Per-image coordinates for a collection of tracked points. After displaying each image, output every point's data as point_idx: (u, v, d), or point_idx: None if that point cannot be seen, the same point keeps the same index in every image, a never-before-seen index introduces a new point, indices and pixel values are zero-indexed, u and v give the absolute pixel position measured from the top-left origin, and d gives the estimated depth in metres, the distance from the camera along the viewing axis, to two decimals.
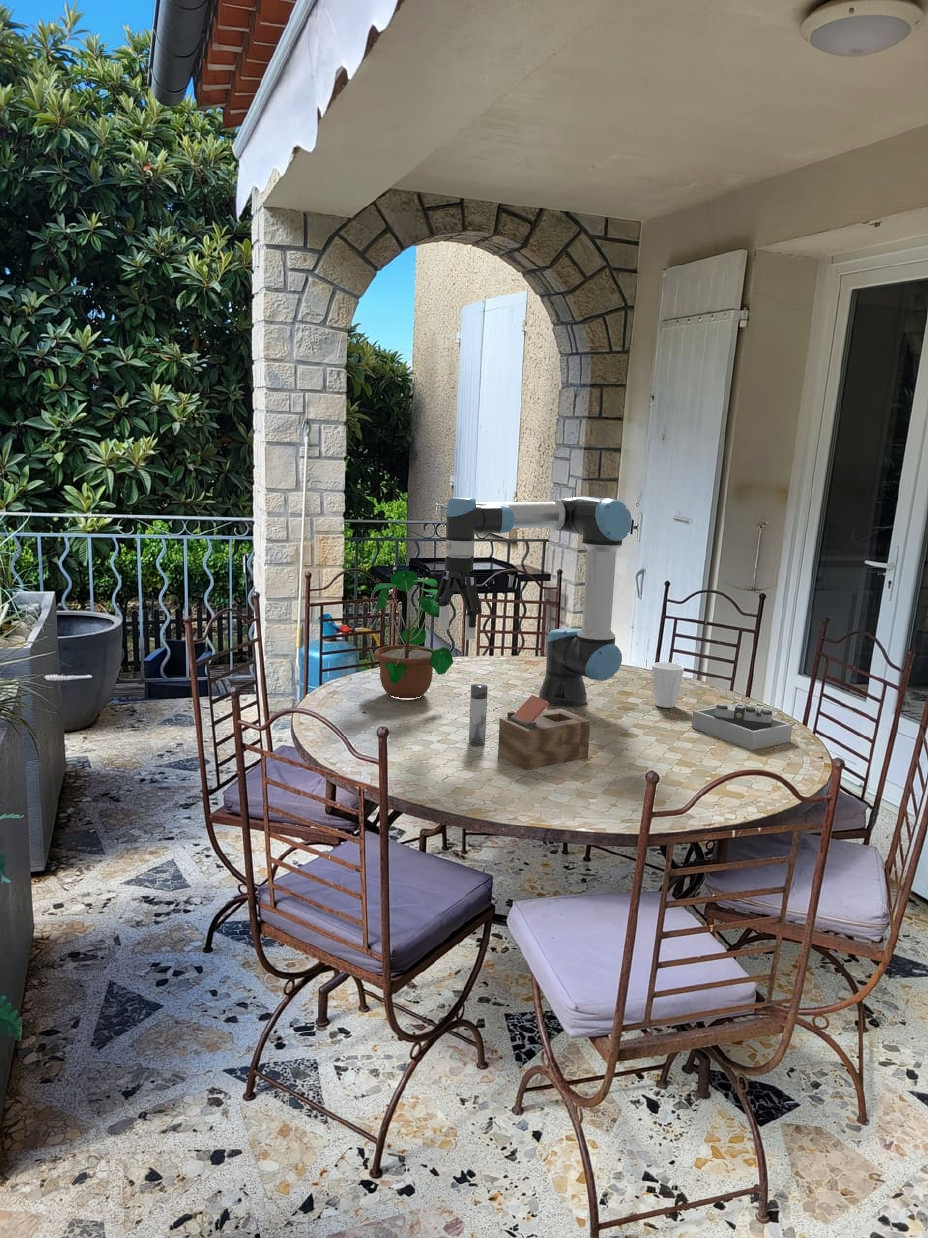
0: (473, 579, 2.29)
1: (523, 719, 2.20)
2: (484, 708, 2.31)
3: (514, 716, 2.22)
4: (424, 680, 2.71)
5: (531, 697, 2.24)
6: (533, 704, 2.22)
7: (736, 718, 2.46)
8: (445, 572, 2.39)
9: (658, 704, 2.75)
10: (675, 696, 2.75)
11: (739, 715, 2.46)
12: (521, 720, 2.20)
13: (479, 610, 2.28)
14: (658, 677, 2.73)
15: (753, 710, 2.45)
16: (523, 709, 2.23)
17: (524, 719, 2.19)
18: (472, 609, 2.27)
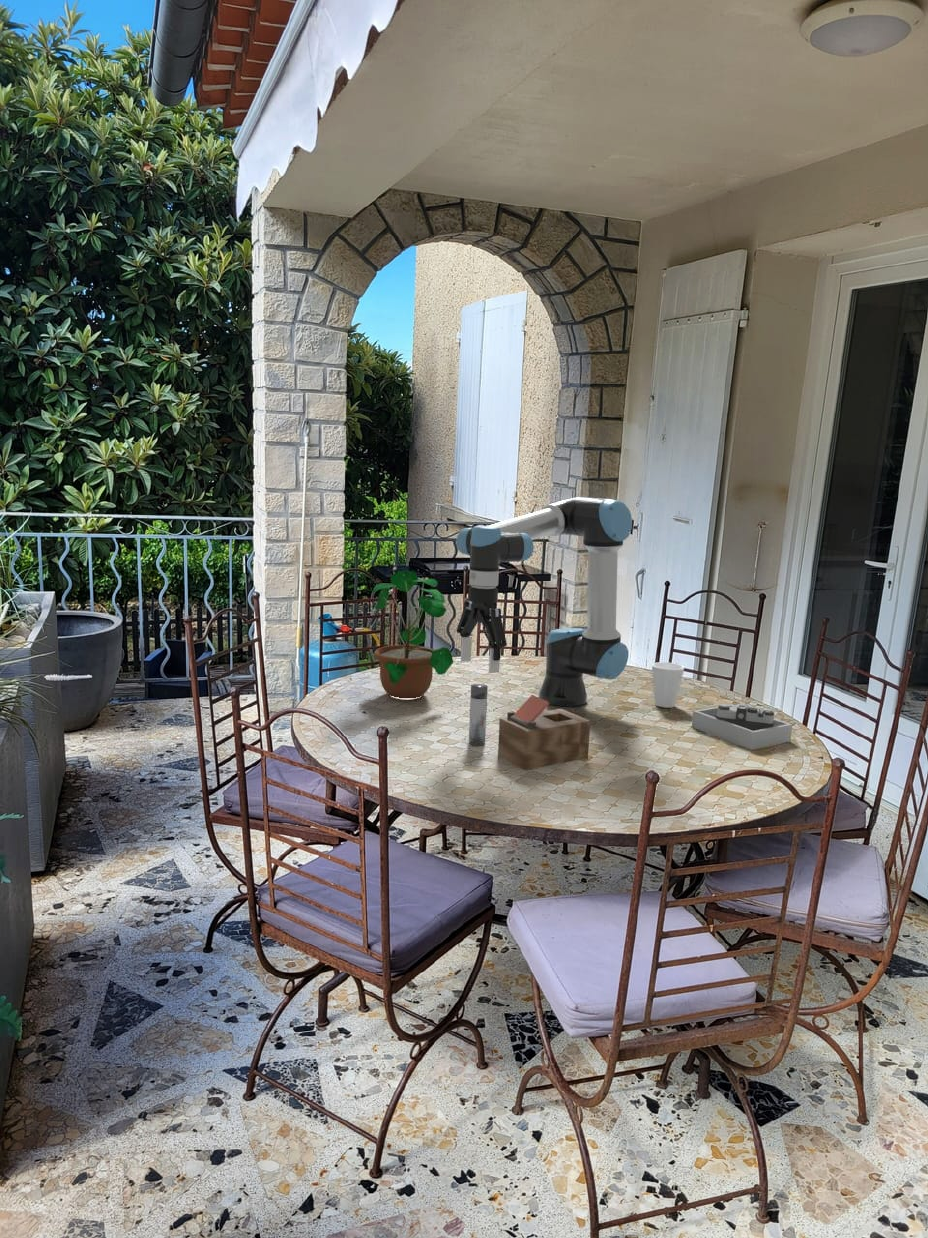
0: (498, 611, 2.22)
1: (523, 719, 2.20)
2: (484, 708, 2.31)
3: (514, 716, 2.22)
4: (424, 680, 2.71)
5: (531, 697, 2.24)
6: (533, 704, 2.22)
7: (738, 719, 2.45)
8: (468, 602, 2.32)
9: (658, 704, 2.75)
10: (675, 696, 2.75)
11: (741, 716, 2.45)
12: (521, 720, 2.20)
13: (504, 643, 2.21)
14: (658, 677, 2.73)
15: (755, 711, 2.44)
16: (523, 709, 2.23)
17: (524, 719, 2.19)
18: (497, 642, 2.20)
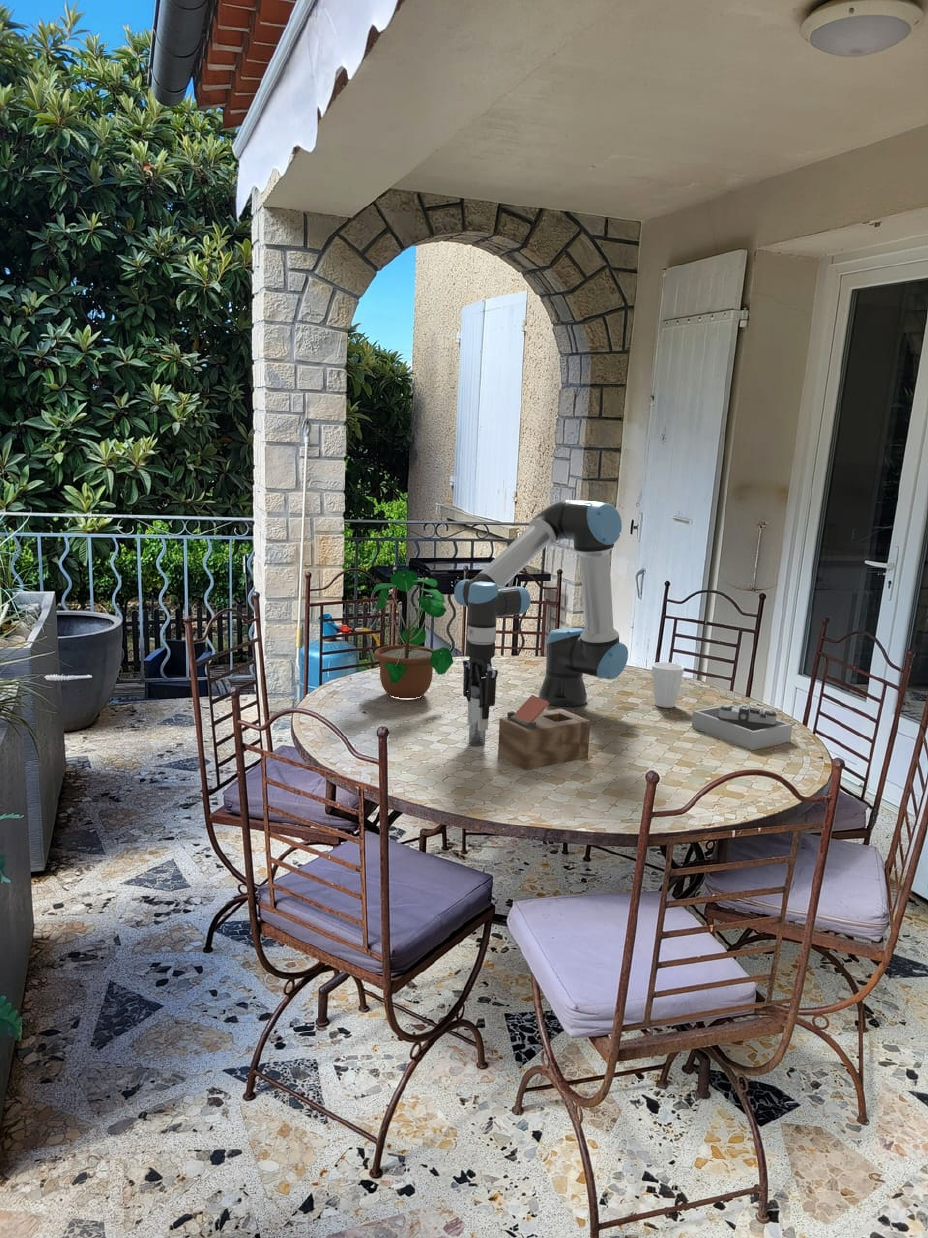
0: (495, 673, 2.25)
1: (523, 719, 2.20)
2: None
3: (514, 716, 2.22)
4: (424, 680, 2.71)
5: (531, 697, 2.24)
6: (533, 704, 2.22)
7: (740, 719, 2.45)
8: (466, 661, 2.35)
9: (658, 704, 2.75)
10: (675, 696, 2.75)
11: (743, 716, 2.45)
12: (521, 720, 2.20)
13: (492, 703, 2.28)
14: (658, 677, 2.73)
15: (757, 711, 2.44)
16: (523, 709, 2.23)
17: (524, 719, 2.19)
18: (486, 702, 2.27)
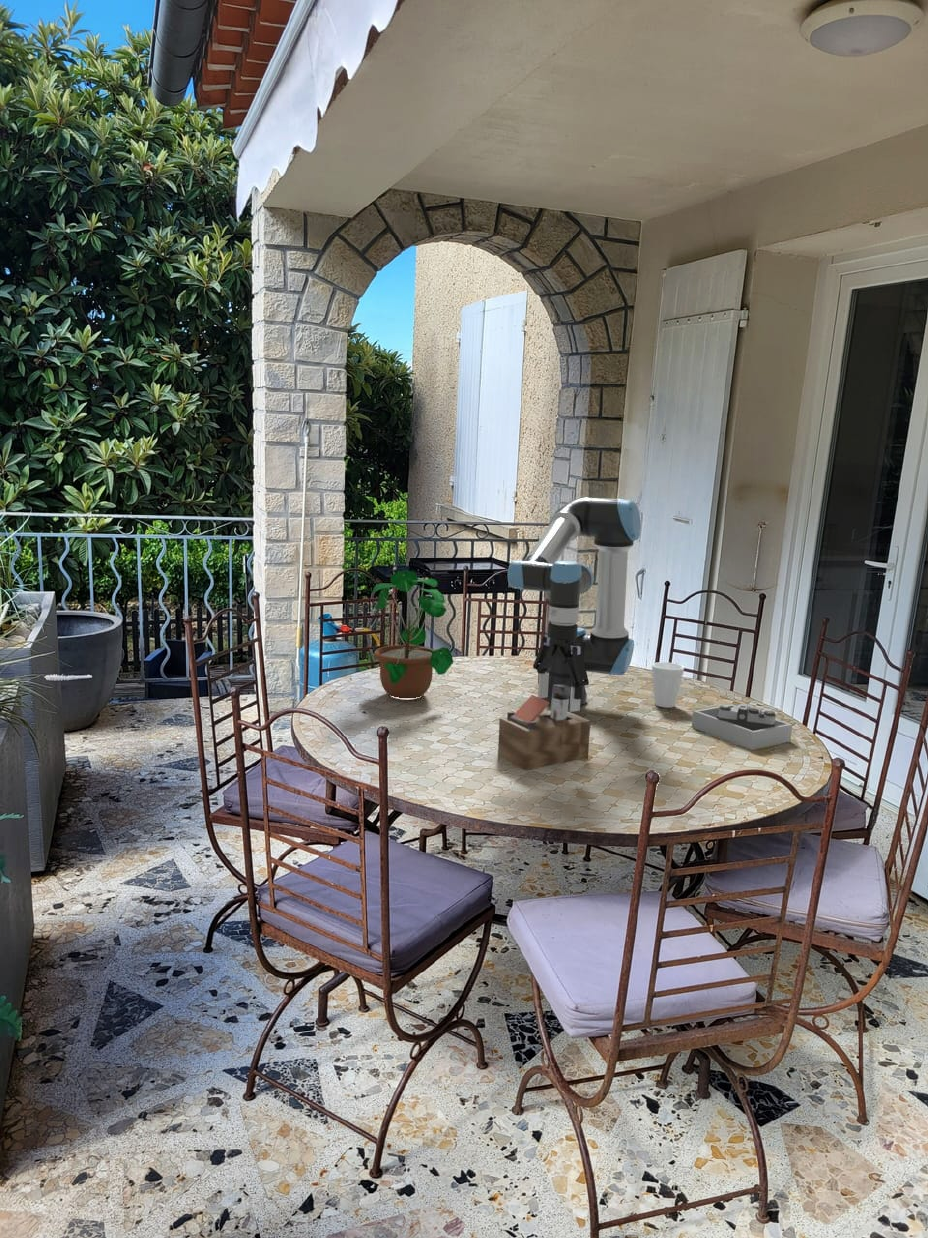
0: (580, 648, 2.18)
1: (523, 719, 2.20)
2: (566, 709, 2.25)
3: (514, 716, 2.22)
4: (424, 680, 2.71)
5: (531, 697, 2.24)
6: (533, 704, 2.22)
7: (739, 719, 2.45)
8: (545, 638, 2.27)
9: (658, 704, 2.75)
10: (675, 696, 2.75)
11: (742, 716, 2.45)
12: (521, 720, 2.20)
13: (586, 682, 2.17)
14: (658, 677, 2.73)
15: (756, 712, 2.44)
16: (523, 709, 2.23)
17: (524, 719, 2.19)
18: (579, 681, 2.16)
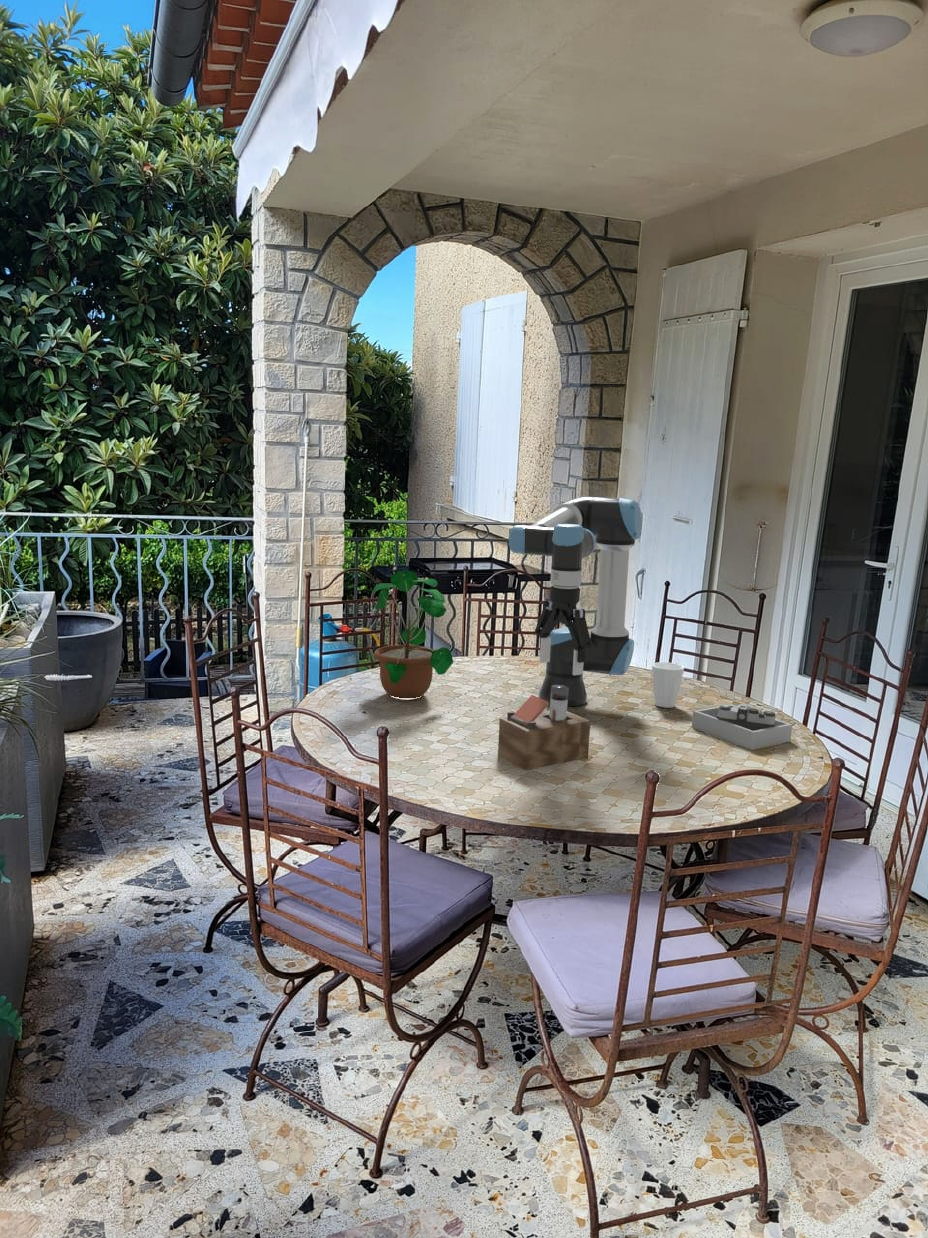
0: (582, 611, 2.16)
1: (523, 719, 2.20)
2: (565, 710, 2.25)
3: (514, 716, 2.22)
4: (424, 680, 2.71)
5: (531, 697, 2.24)
6: (533, 704, 2.22)
7: (739, 719, 2.45)
8: (548, 602, 2.26)
9: (658, 704, 2.75)
10: (675, 696, 2.75)
11: (742, 716, 2.45)
12: (521, 720, 2.20)
13: (589, 644, 2.15)
14: (658, 677, 2.73)
15: (756, 712, 2.44)
16: (523, 709, 2.23)
17: (524, 719, 2.19)
18: (582, 644, 2.14)
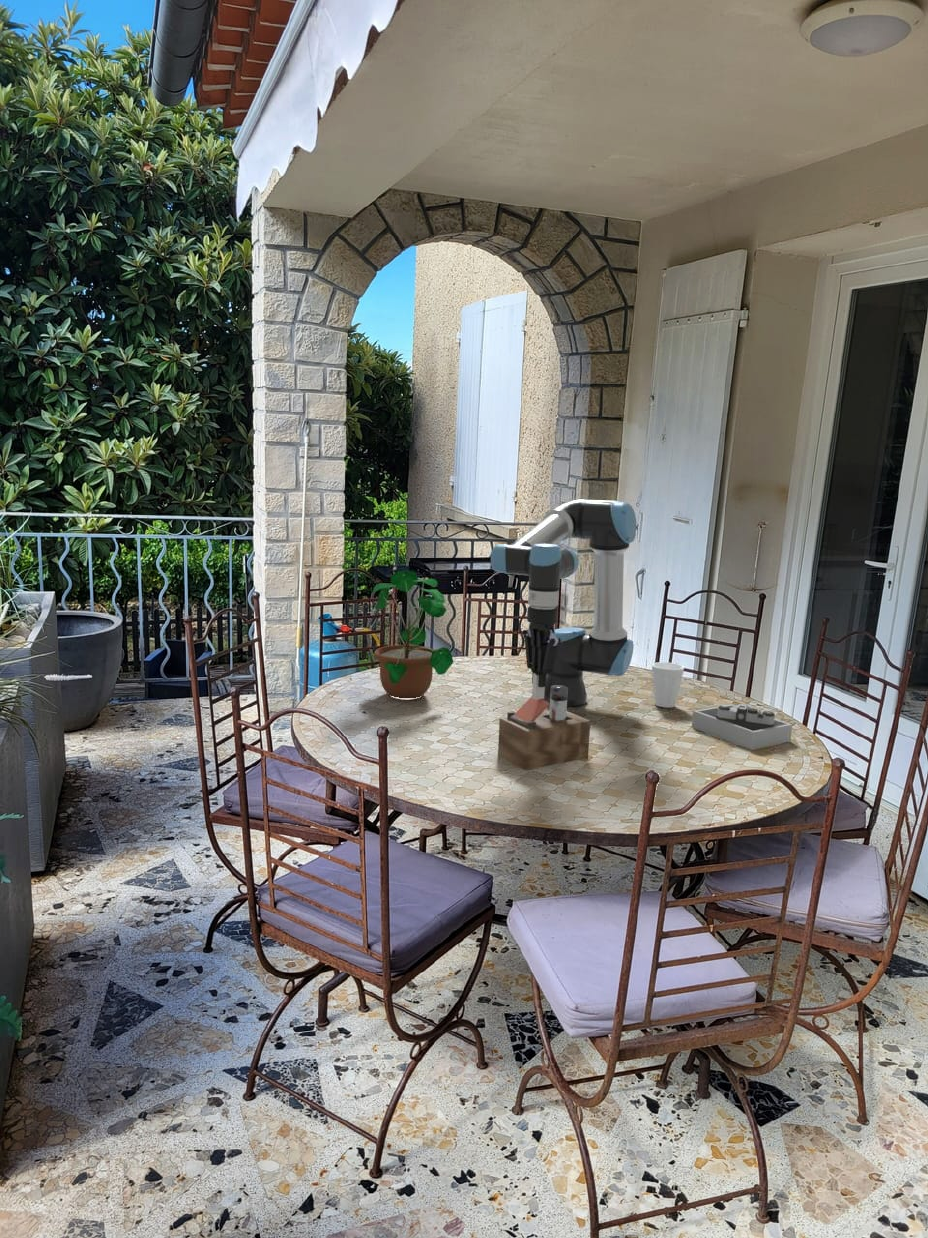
0: (557, 642, 2.14)
1: (523, 719, 2.20)
2: (565, 710, 2.25)
3: (514, 716, 2.22)
4: (424, 680, 2.71)
5: None
6: (533, 705, 2.22)
7: (738, 719, 2.45)
8: (526, 630, 2.23)
9: (658, 704, 2.75)
10: (675, 696, 2.75)
11: (741, 716, 2.45)
12: (521, 720, 2.20)
13: (550, 671, 2.18)
14: (658, 677, 2.73)
15: (755, 711, 2.44)
16: (523, 709, 2.23)
17: (524, 719, 2.19)
18: (544, 669, 2.17)
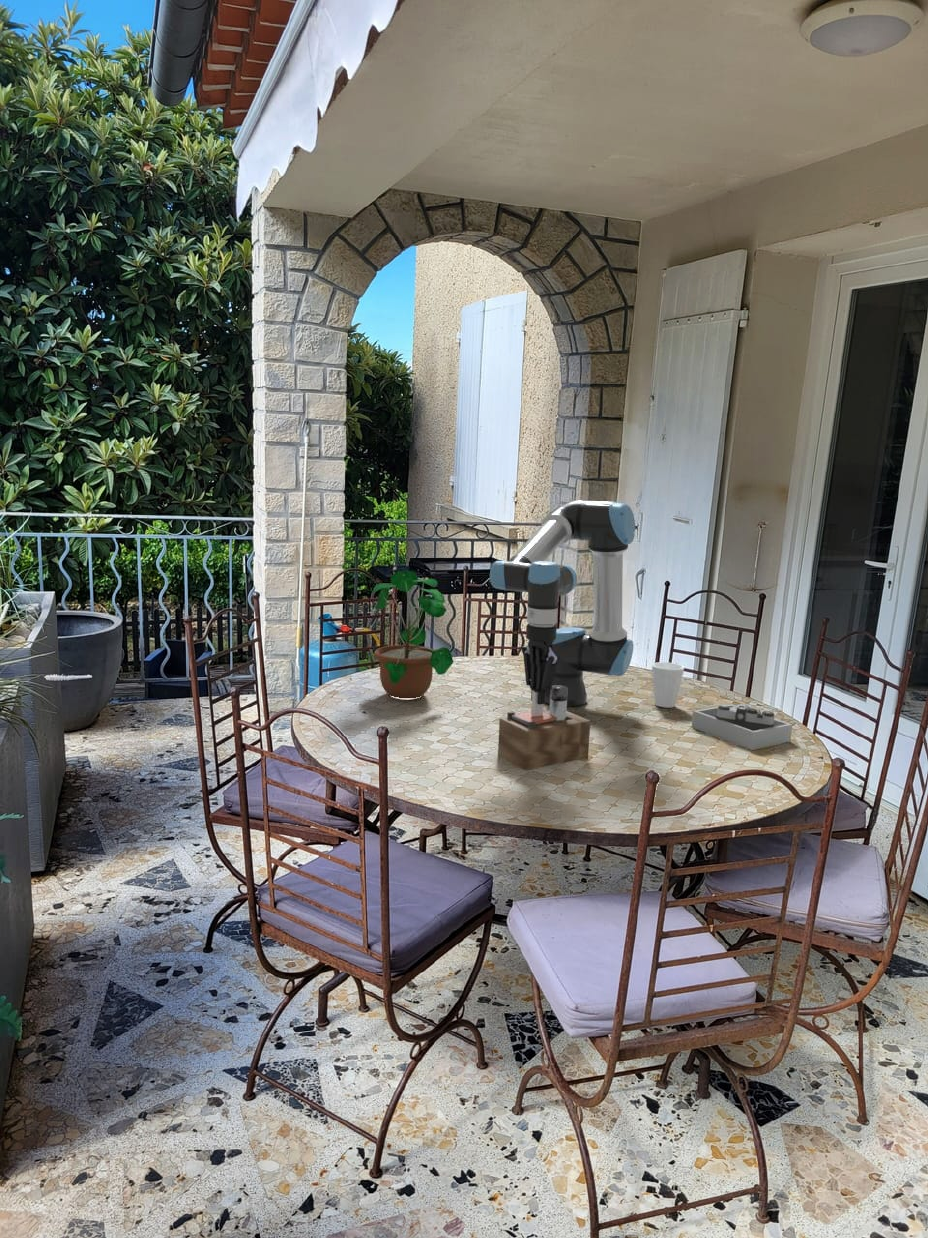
0: (556, 659, 2.15)
1: (525, 719, 2.20)
2: (565, 710, 2.25)
3: (516, 716, 2.23)
4: (424, 680, 2.71)
5: None
6: None
7: (737, 719, 2.45)
8: (525, 647, 2.24)
9: (658, 704, 2.75)
10: (675, 696, 2.75)
11: (740, 716, 2.45)
12: (523, 719, 2.20)
13: (549, 688, 2.18)
14: (658, 677, 2.73)
15: (755, 712, 2.44)
16: (527, 715, 2.24)
17: (526, 720, 2.20)
18: (542, 686, 2.18)
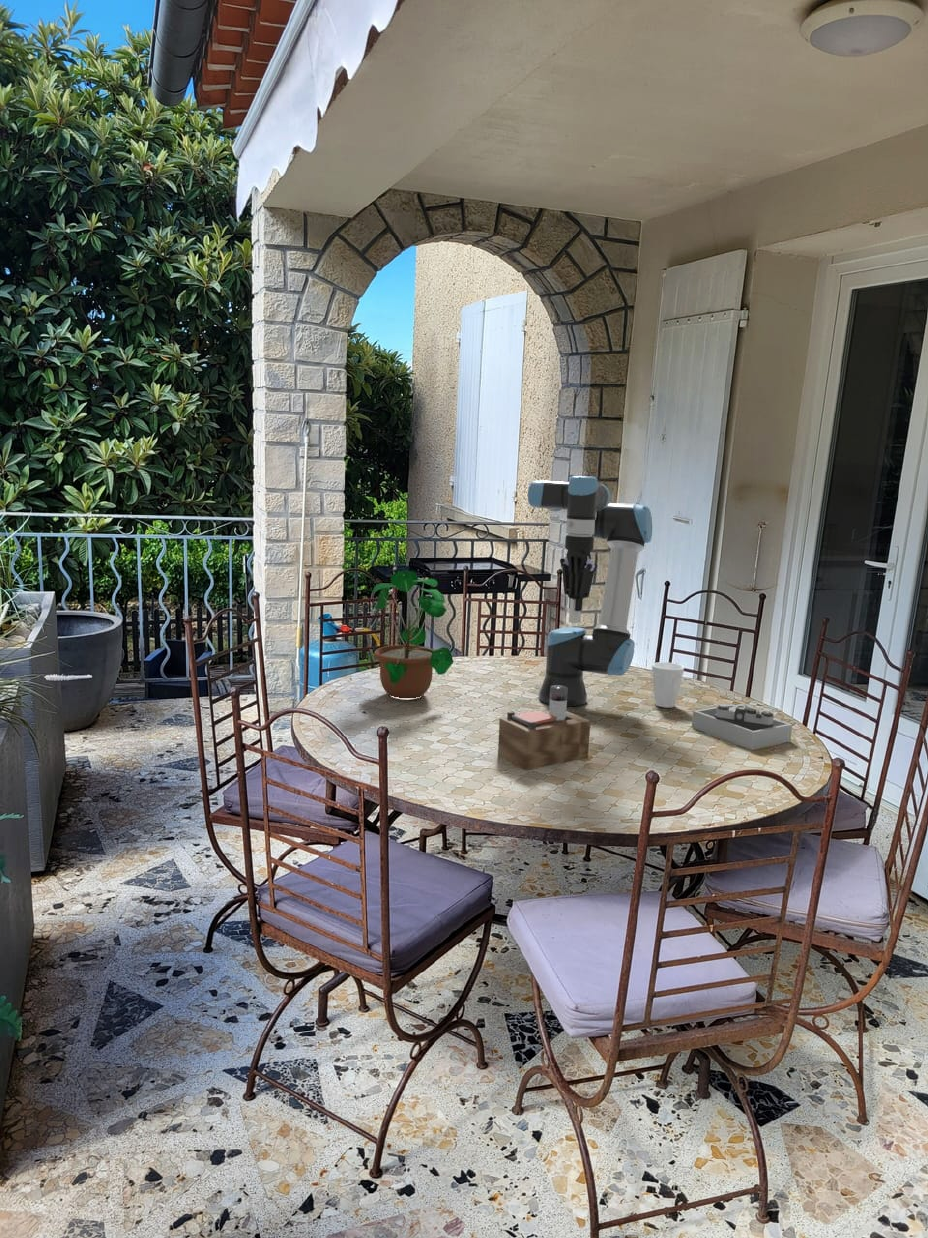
0: (594, 567, 2.29)
1: (525, 719, 2.20)
2: (565, 710, 2.25)
3: (516, 716, 2.23)
4: (424, 680, 2.71)
5: (537, 711, 2.26)
6: (538, 715, 2.23)
7: (736, 719, 2.45)
8: None
9: (658, 704, 2.75)
10: (675, 696, 2.75)
11: (739, 716, 2.45)
12: (523, 719, 2.20)
13: (586, 595, 2.33)
14: (658, 677, 2.73)
15: (754, 712, 2.44)
16: (527, 715, 2.24)
17: (526, 720, 2.20)
18: (580, 593, 2.32)
